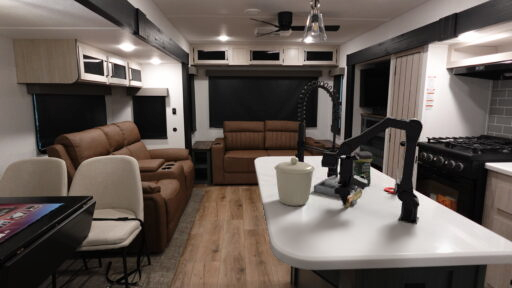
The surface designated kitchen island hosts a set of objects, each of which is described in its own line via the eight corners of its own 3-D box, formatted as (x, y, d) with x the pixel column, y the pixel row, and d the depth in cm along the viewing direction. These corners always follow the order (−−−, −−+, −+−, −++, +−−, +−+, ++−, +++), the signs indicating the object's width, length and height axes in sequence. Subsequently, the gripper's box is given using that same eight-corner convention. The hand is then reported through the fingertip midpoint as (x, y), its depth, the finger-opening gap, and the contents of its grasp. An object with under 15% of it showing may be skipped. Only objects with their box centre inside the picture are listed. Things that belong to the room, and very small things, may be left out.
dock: (353, 206, 126) (354, 198, 126) (307, 196, 140) (307, 189, 139) (368, 192, 144) (368, 186, 144) (325, 184, 158) (325, 178, 157)
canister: (314, 197, 138) (316, 154, 135) (311, 211, 121) (313, 163, 117) (278, 194, 143) (278, 152, 139) (270, 207, 126) (270, 160, 122)
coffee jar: (357, 187, 153) (358, 153, 151) (349, 182, 161) (351, 150, 158) (373, 186, 155) (375, 152, 152) (364, 181, 163) (366, 150, 160)
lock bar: (348, 207, 124) (349, 198, 123) (343, 206, 125) (343, 197, 125) (362, 195, 140) (363, 187, 139) (357, 194, 141) (358, 186, 141)
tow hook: (382, 188, 152) (387, 193, 143) (383, 165, 151) (389, 168, 141) (399, 189, 151) (405, 194, 142) (400, 165, 149) (407, 169, 140)
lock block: (336, 195, 141) (336, 181, 140) (323, 192, 146) (324, 178, 145) (345, 190, 148) (345, 177, 147) (333, 187, 153) (333, 175, 152)
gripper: (364, 177, 109) (362, 216, 111) (368, 166, 125) (366, 200, 128) (335, 173, 113) (333, 211, 116) (342, 164, 130) (340, 196, 132)
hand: (344, 204), depth 123 cm, fingers closed
